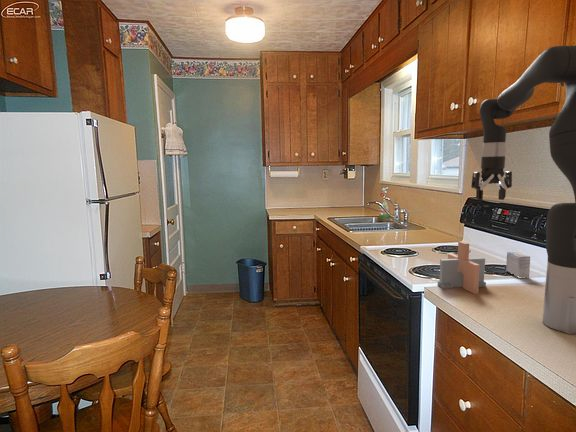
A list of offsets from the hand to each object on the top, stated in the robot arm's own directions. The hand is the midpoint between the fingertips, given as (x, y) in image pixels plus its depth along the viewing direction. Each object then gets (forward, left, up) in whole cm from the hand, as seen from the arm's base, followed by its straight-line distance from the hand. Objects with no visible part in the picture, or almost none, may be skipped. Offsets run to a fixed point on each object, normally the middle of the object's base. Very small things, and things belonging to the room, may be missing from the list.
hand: (490, 199), depth 131 cm
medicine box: (+2, -14, -31) cm, 34 cm away
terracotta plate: (-6, +14, -30) cm, 34 cm away
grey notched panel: (-6, +14, -30) cm, 34 cm away
